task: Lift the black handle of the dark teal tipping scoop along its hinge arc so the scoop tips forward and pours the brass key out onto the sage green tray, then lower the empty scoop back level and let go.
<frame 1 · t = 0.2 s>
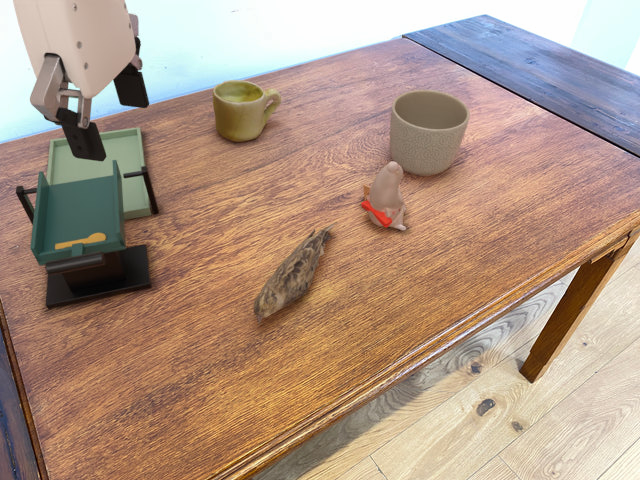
hand: (114, 130, 52), 24 cm above the table, tool pointing down, fingers open, 9 cm apart
bird model: (299, 279, 71), on the table
mug: (249, 129, 96), on the table
stand: (100, 255, 73), on the table
key: (80, 244, 63), point 8 cm above the table, touching scoop
tray: (99, 178, 85), on the table
figurine: (382, 217, 80), on the table
planter: (419, 164, 90), on the table
scoop: (79, 218, 65), point 9 cm above the table, hinge at 0.0°, touching key
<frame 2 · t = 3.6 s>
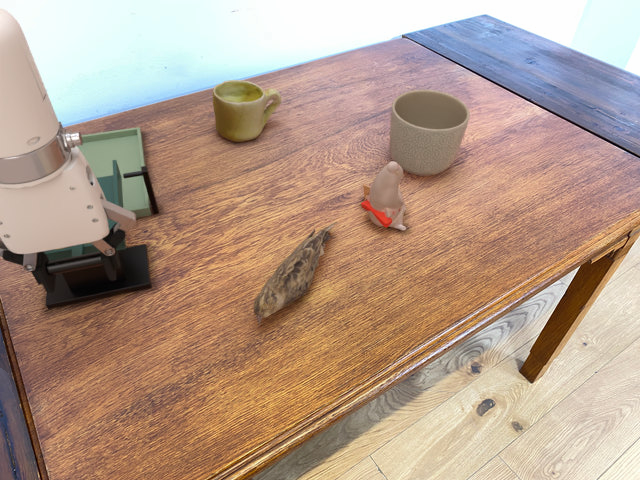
hand: (82, 276, 60), 8 cm above the table, tool pointing down, fingers closed on scoop, 6 cm apart
scoop: (79, 218, 65), point 9 cm above the table, hinge at 0.0°, touching gripper, key
everything else where it was.
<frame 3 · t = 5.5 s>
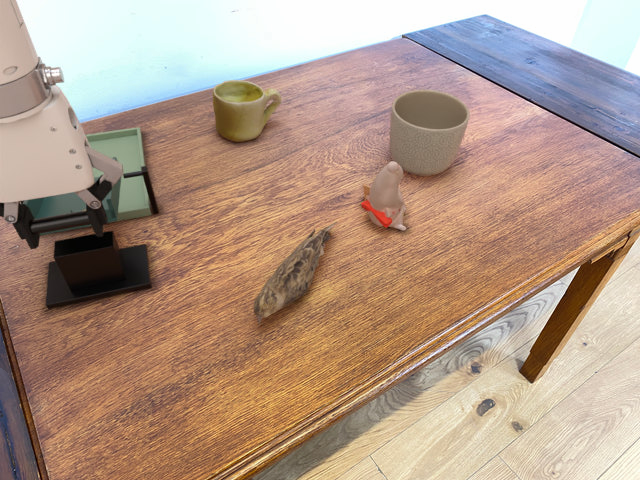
hand: (67, 233, 57), 13 cm above the table, tool pointing down, fingers closed on scoop, 6 cm apart
key: (71, 218, 61), point 12 cm above the table, tilted 16°, touching scoop
scoop: (73, 198, 63), point 12 cm above the table, hinge at 16.2°, touching gripper, key
everything else where it was.
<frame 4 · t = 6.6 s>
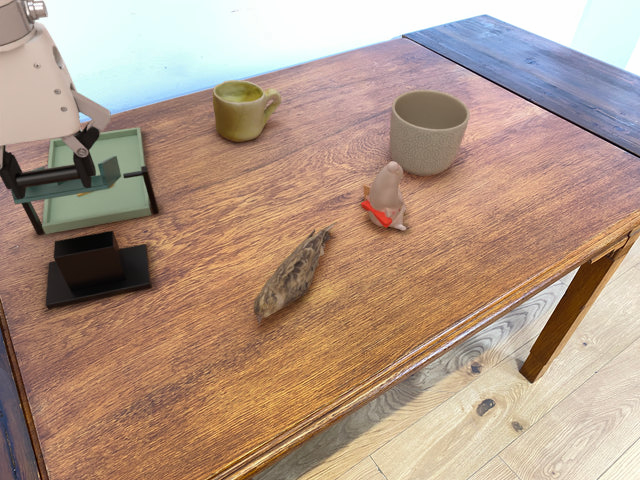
hand: (55, 184, 56), 18 cm above the table, tool pointing down, fingers closed on scoop, 6 cm apart
key: (94, 187, 82), point 1 cm above the table, tilted 180°, touching tray
scoop: (67, 176, 63), point 14 cm above the table, hinge at 31.8°, touching gripper
everything else where it was.
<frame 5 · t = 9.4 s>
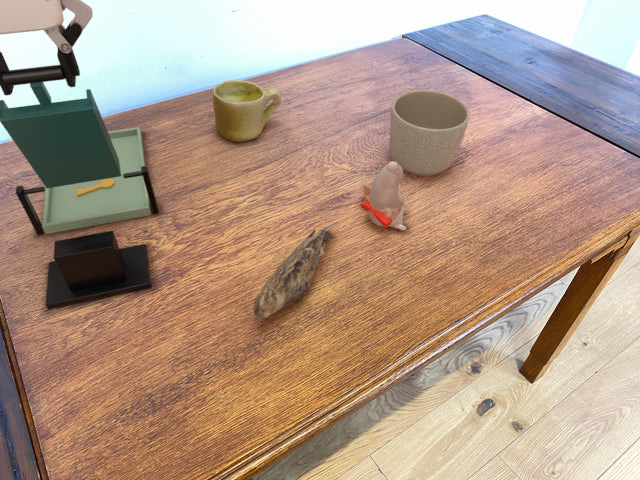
hand: (41, 84, 59), 24 cm above the table, tool pointing down, fingers closed on scoop, 6 cm apart
scoop: (61, 130, 64), point 17 cm above the table, hinge at 69.5°, touching gripper
everything else where it was.
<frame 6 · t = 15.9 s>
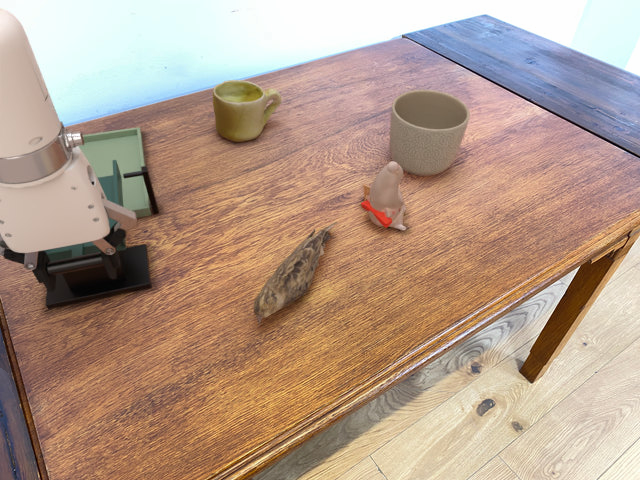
hand: (82, 275, 60), 8 cm above the table, tool pointing down, fingers closed on scoop, 6 cm apart
scoop: (79, 218, 65), point 9 cm above the table, hinge at -0.2°, touching gripper, stand
everything else where it was.
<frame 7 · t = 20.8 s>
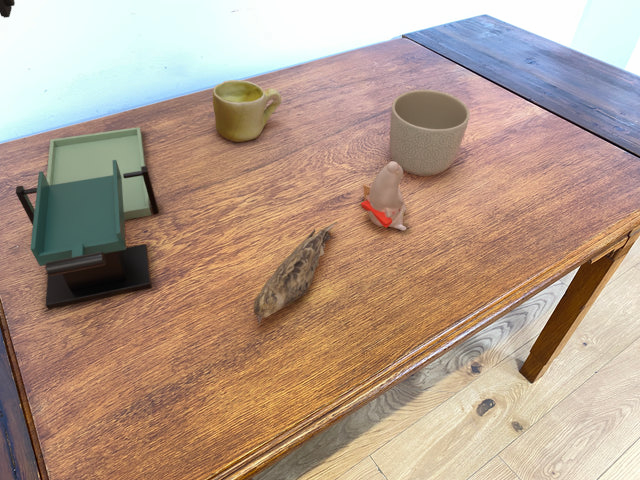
scoop: (79, 218, 65), point 9 cm above the table, hinge at -0.2°
everything else where it was.
at the end: scoop reached +70° during the clip, +0° at the end; key inside the target area in the tray (3.2 cm from its centre), point 0.8 cm above the tray's base; scoop at +0° (first picture: +0°) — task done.
